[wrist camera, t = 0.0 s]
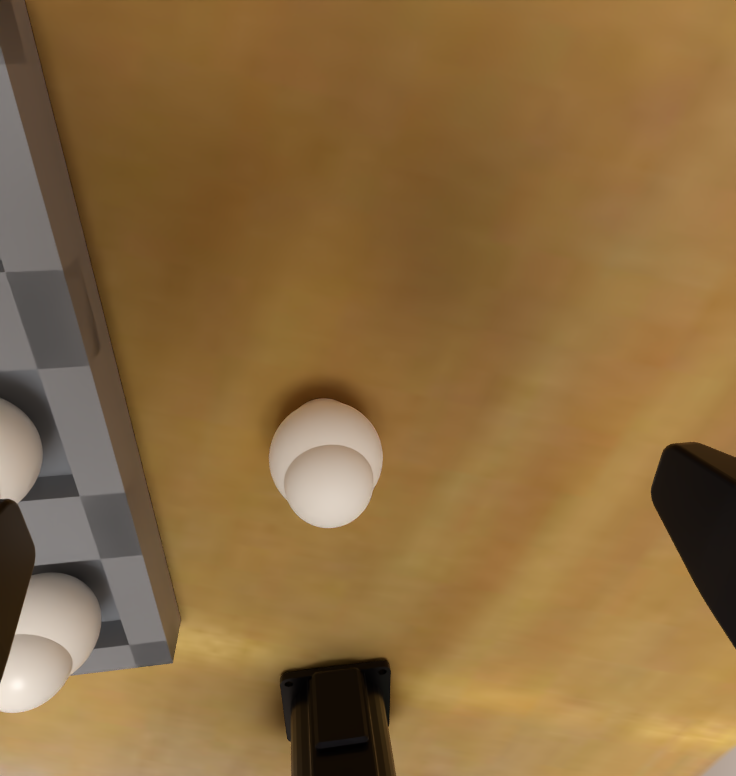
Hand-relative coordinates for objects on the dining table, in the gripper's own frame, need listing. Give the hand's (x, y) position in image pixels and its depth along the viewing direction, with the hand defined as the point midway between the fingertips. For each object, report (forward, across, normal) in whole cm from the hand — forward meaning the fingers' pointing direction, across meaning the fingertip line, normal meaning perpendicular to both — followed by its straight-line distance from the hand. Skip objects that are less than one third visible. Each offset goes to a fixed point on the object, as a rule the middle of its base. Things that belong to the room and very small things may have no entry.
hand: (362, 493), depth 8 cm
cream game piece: (+15, 0, +8) cm, 17 cm away
